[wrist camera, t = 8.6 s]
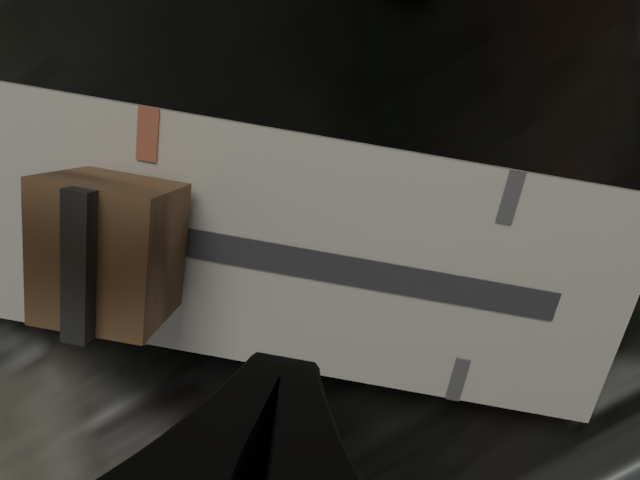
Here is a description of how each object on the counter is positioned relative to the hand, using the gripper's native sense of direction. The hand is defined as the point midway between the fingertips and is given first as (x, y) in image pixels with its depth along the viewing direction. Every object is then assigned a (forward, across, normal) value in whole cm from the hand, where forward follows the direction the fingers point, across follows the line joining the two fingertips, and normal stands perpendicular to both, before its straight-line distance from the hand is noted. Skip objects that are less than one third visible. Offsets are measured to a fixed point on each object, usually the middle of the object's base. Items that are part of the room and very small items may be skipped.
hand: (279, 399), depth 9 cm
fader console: (+10, +1, 0) cm, 10 cm away
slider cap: (+8, +7, 0) cm, 11 cm away
